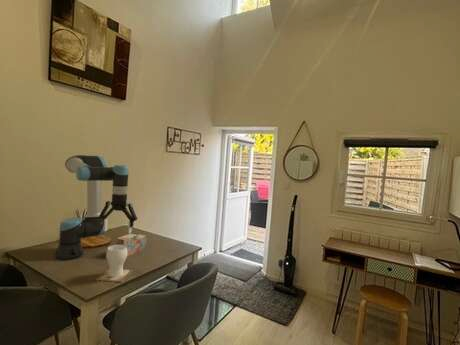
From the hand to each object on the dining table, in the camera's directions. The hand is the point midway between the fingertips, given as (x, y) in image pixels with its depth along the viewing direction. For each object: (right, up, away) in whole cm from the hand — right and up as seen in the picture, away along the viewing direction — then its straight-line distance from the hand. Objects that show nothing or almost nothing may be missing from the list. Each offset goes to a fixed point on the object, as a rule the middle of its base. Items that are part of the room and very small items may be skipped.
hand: (117, 231), depth 138 cm
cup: (-2, -24, +1) cm, 24 cm away
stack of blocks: (-6, -23, +35) cm, 42 cm away
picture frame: (-2, -24, +1) cm, 25 cm away
